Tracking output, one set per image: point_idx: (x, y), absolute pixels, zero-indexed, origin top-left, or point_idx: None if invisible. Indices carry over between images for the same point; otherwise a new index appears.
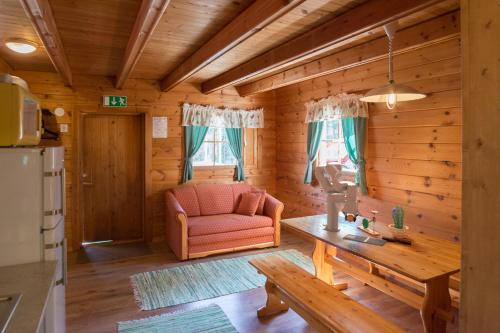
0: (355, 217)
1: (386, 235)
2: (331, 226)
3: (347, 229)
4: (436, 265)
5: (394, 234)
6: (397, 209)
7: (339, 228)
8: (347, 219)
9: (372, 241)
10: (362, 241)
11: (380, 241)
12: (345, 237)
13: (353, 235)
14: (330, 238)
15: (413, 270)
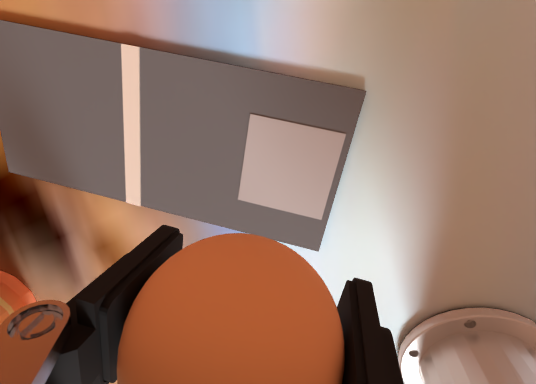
0: (59, 314)
1: (64, 301)
2: (515, 362)
3: None
4: None
5: None
6: None
7: (405, 372)
8: (310, 270)
9: (77, 96)
10: (151, 52)
11: (29, 126)
12: (335, 126)
13: (264, 223)
14: (531, 36)
15: None
